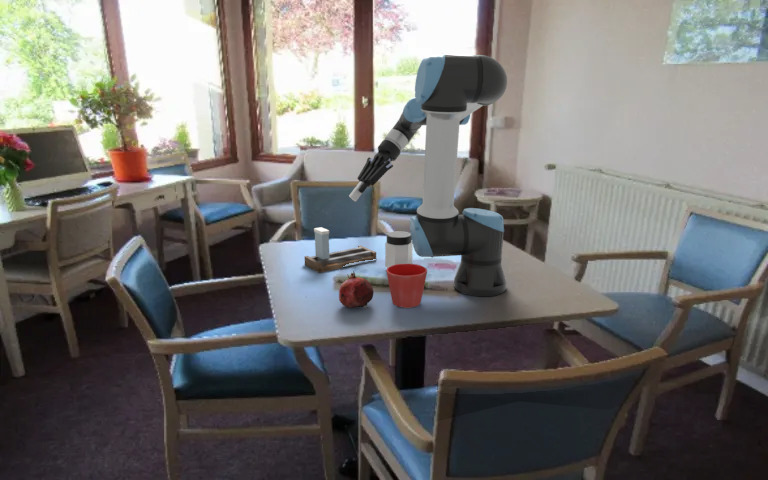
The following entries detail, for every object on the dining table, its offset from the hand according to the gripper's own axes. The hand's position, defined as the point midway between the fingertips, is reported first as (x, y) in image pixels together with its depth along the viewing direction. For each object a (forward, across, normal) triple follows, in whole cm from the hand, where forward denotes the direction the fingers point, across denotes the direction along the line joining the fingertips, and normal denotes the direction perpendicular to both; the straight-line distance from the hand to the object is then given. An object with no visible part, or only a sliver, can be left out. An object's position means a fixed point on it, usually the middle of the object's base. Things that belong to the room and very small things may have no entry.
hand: (352, 198), depth 166 cm
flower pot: (+21, -40, -10) cm, 46 cm away
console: (+19, 0, -12) cm, 22 cm away
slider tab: (+23, 0, -6) cm, 23 cm away
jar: (+11, -17, -20) cm, 29 cm away
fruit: (+30, -34, -1) cm, 46 cm away
